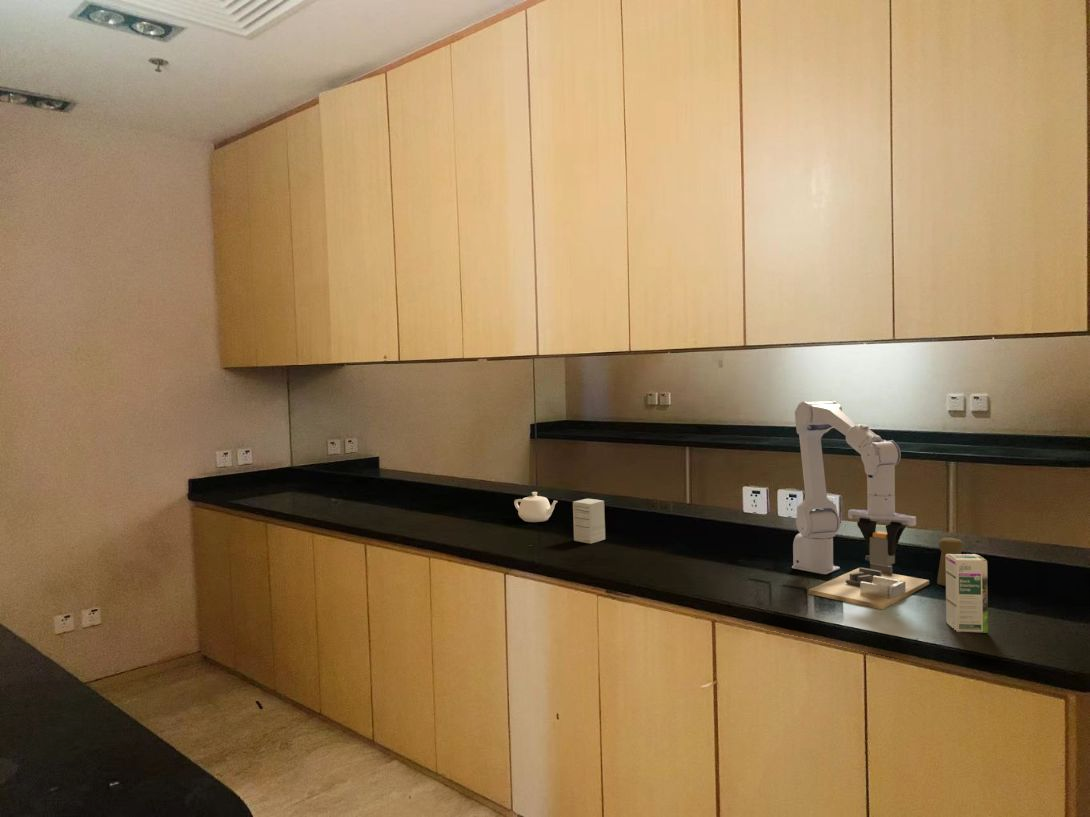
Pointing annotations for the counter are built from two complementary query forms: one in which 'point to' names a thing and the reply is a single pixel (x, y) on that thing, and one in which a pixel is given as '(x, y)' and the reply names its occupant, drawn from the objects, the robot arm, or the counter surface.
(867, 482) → the robot arm
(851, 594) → the board
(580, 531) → the supplement box
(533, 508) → the teapot
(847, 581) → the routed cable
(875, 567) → the clip
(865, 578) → the middle clip
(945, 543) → the cork
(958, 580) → the syrup box
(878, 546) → the grey upright block
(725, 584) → the counter surface
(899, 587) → the end holder
